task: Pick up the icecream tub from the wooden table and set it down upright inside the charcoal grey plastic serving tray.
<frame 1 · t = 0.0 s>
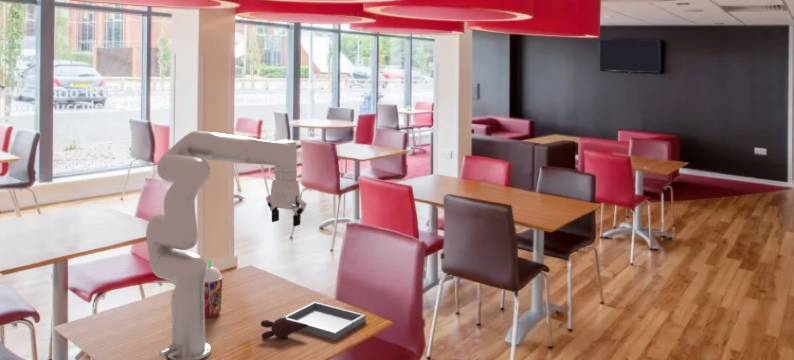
hand: (285, 223, 230), 31 cm above the table, tool pointing down, fingers open, 9 cm apart
smoothie: (210, 315, 228), on the table
serving tray: (324, 323, 223), on the table
icecream: (284, 337, 211), on the table
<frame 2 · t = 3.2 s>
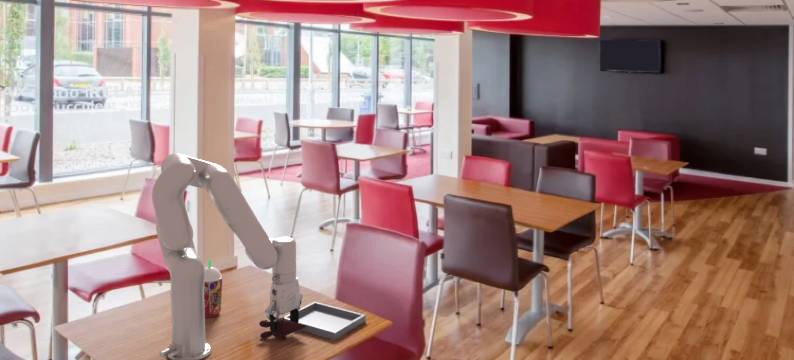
hand: (284, 326, 211), 3 cm above the table, tool pointing down, fingers open, 9 cm apart
nothing on the table moved.
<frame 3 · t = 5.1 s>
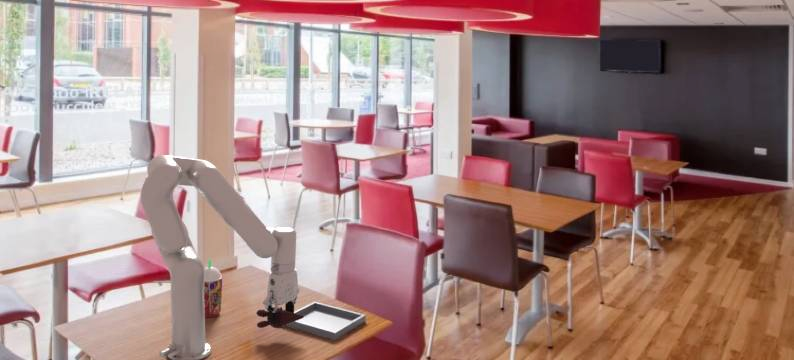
hand: (281, 319, 210), 6 cm above the table, tool pointing down, fingers closed on icecream, 7 cm apart
icecream: (279, 328, 210), point 3 cm above the table, touching gripper
everything else where it was.
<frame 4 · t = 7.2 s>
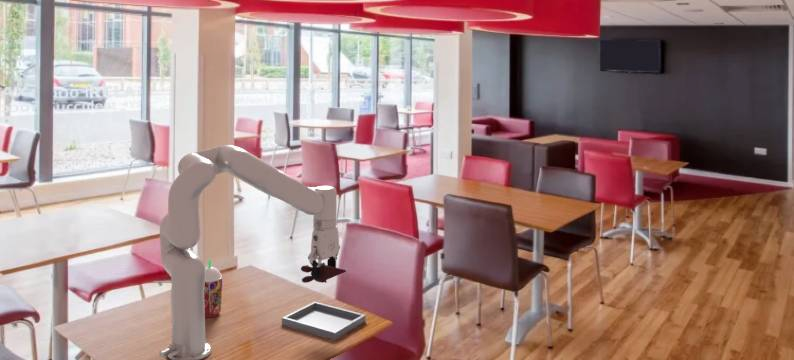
hand: (324, 274, 220), 18 cm above the table, tool pointing down, fingers closed on icecream, 7 cm apart
icecream: (323, 282, 220), point 15 cm above the table, touching gripper
everything else where it was.
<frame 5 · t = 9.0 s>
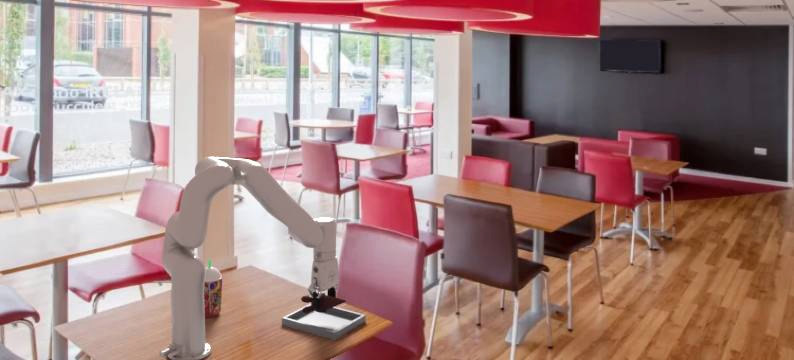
hand: (324, 304, 222), 7 cm above the table, tool pointing down, fingers closed on icecream, 7 cm apart
icecream: (323, 312, 222), point 4 cm above the table, touching gripper
everything else where it was.
when the fingers open (5 cm above the table, at t = 10.5 s): icecream drops 1 cm, resting on serving tray.
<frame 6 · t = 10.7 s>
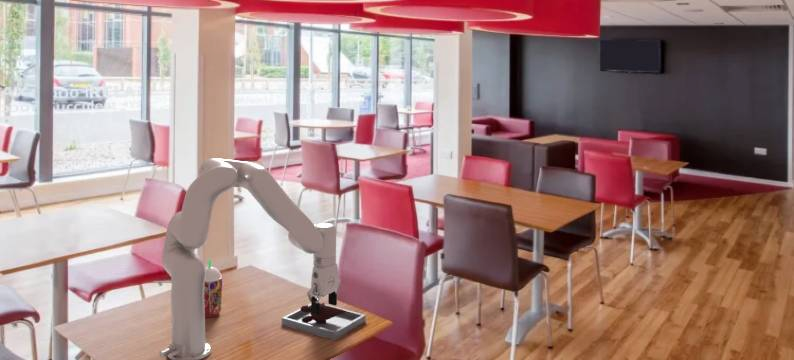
hand: (324, 308, 222), 5 cm above the table, tool pointing down, fingers open, 9 cm apart
icecream: (322, 322, 223), resting on serving tray
everything else where it was.
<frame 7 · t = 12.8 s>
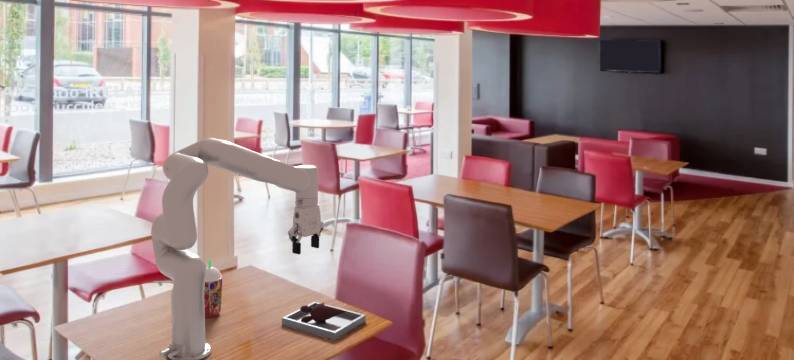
hand: (305, 250, 224), 24 cm above the table, tool pointing down, fingers open, 9 cm apart
nothing on the table moved.
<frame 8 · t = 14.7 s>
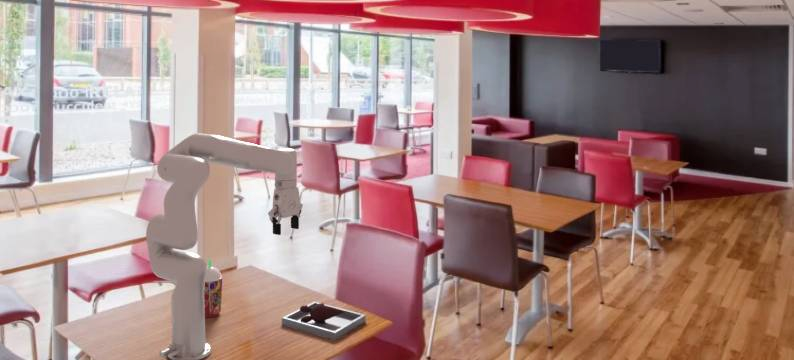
hand: (285, 231, 231), 28 cm above the table, tool pointing down, fingers open, 9 cm apart
nothing on the table moved.
at the end: icecream inside the target area on the serving tray (0.8 cm from its centre), point 0.3 cm above the serving tray's base; the gripper is holding nothing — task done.
